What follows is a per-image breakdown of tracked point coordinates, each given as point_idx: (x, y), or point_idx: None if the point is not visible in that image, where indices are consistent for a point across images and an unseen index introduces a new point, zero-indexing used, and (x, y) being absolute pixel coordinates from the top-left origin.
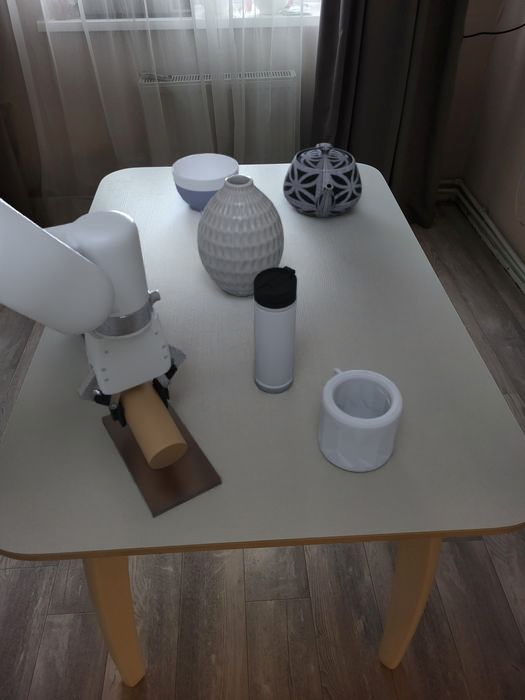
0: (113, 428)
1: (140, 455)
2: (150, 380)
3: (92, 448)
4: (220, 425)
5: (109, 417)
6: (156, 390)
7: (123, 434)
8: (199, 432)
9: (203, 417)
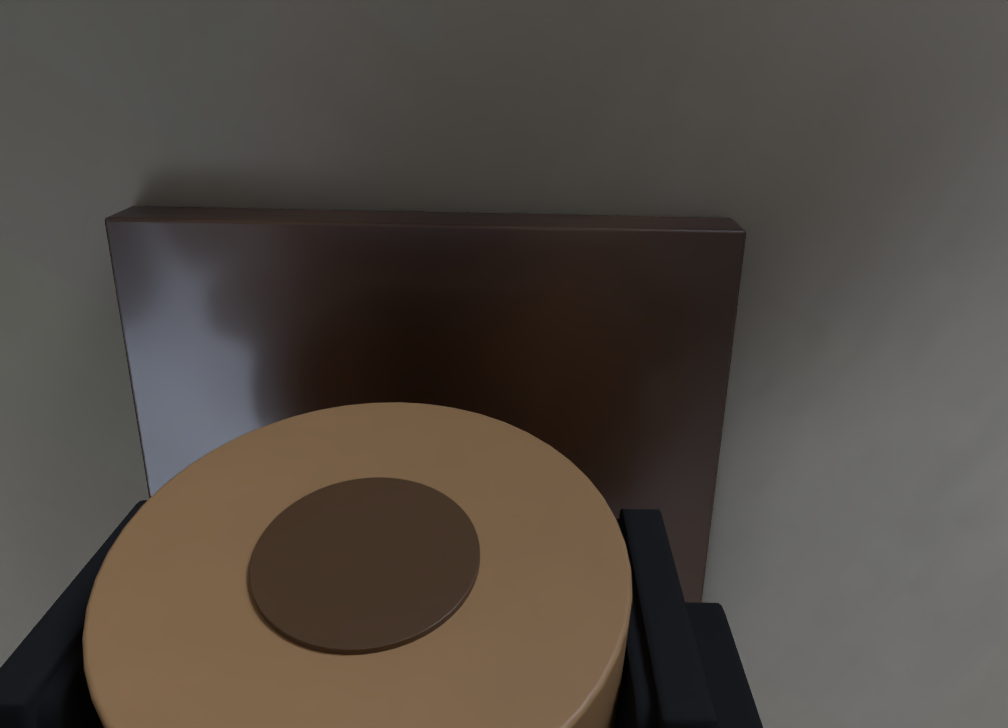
0: (180, 395)
1: None
2: (616, 675)
3: (8, 421)
4: (912, 699)
5: (176, 259)
6: (617, 714)
7: None
8: (755, 677)
9: (866, 585)
